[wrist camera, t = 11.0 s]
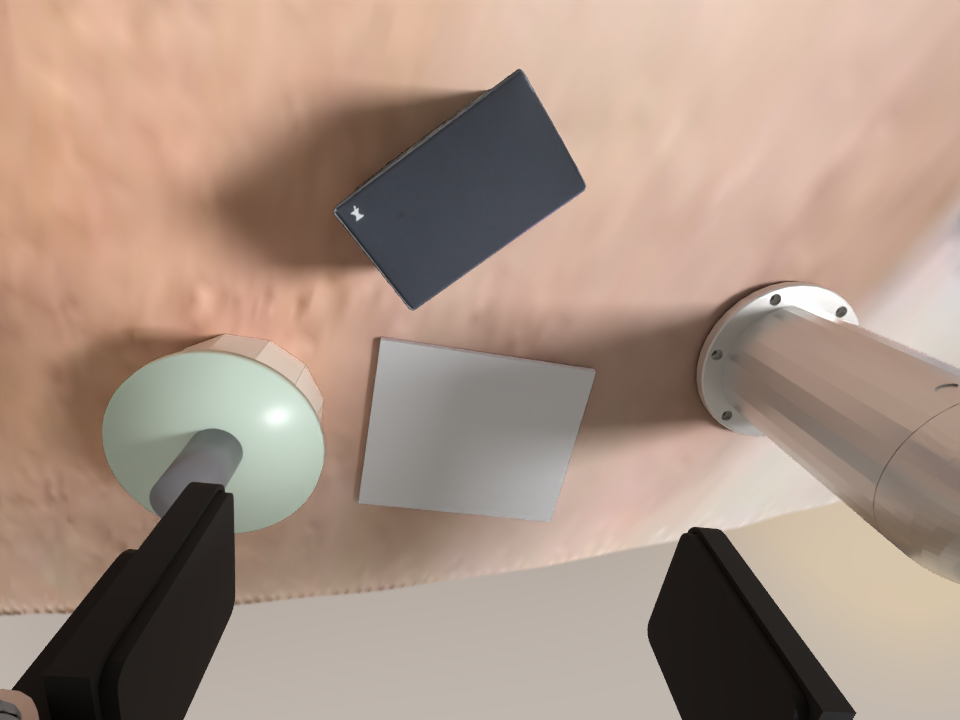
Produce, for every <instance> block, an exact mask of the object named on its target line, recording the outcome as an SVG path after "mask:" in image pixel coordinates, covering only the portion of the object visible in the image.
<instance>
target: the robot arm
mask: <svg viewBox="0 0 960 720" xmlns="http://www.w3.org/2000/svg"><path fill="white" fill-rule="evenodd" d="M696 381H697V387H698V392H699V396H700V398H701V400H702V402H703V405H704V406H705V408H706V409H707V410H708V412H709V413H710V414H711V415H712V416H713V417H714V418H715V419H716V420H717V421H718V422H719V423H720V424H722V425H723V426H725V427H726V428H728V429H729V430H731V431H734V432H737V433H739V434H742V435H748V436H755V437H762V436H767V437H768V438H769V439H770V440H771V441H772V442H774V443H775V444H776V445H777V446H778V447H779V448H781V449H782V450H783V451H784V452H785V453H786V454H788V455H789V456H790V457H791V458H792V459H794V460H795V461H796V462H797V463H798V464H799V465H801V466H802V467H803V468H804V469H805V470H806V471H808V472H809V473H810V474H811V475H812V476H813V477H815V478H816V479H817V480H818V481H819V482H821V483H822V484H823V485H824V486H825V487H826V488H828V489H829V490H830V491H831V492H832V493H833V494H835V495H836V496H837V497H838V498H839V499H840V500H842V501H843V502H844V503H845V504H846V505H848V506H849V507H850V508H851V509H852V510H853V511H855V512H856V513H857V514H858V515H859V516H860V517H862V518H863V519H864V520H865V521H866V522H867V523H869V524H870V525H871V526H872V527H873V528H875V529H876V530H877V531H878V532H879V533H881V534H882V535H883V536H884V537H885V538H886V539H887V540H889V541H890V542H891V543H892V544H894V545H895V546H896V547H897V548H898V549H900V550H901V551H902V552H903V553H904V554H906V555H907V556H908V557H909V558H911V559H912V560H914V561H915V562H916V563H918V564H919V565H921V566H922V567H924V568H926V569H927V570H929V571H931V572H932V573H934V574H937V575H939V576H941V577H943V578H945V579H948V580H950V581H952V582H956V583H958V584H960V368H958V367H956V366H954V365H951V364H949V363H946V362H944V361H942V360H939V359H937V358H934V357H932V356H930V355H927V354H925V353H922V352H920V351H918V350H915V349H913V348H910V347H908V346H906V345H903V344H901V343H898V342H896V341H894V340H891V339H889V338H886V337H884V336H882V335H879V334H877V333H874V332H872V331H870V330H867V329H865V328H862V327H860V325H859V321H858V318H857V316H856V314H855V312H854V310H853V308H852V307H851V305H850V304H849V303H848V302H847V301H846V300H845V299H844V298H843V297H842V296H840V295H839V294H837V293H835V292H834V291H832V290H830V289H827V288H825V287H822V286H819V285H817V284H812V283H807V282H784V283H779V284H774V285H770V286H767V287H765V288H762V289H760V290H757V291H755V292H753V293H752V294H750V295H748V296H747V297H745V298H743V299H741V300H740V301H739V302H737V303H736V304H735V305H734V306H733V307H731V308H730V309H729V310H728V311H727V312H726V313H725V314H724V315H723V316H722V317H721V318H720V320H719V321H718V322H717V323H716V324H715V326H714V327H713V329H712V330H711V332H710V333H709V335H708V337H707V338H706V340H705V343H704V345H703V347H702V350H701V352H700V356H699V360H698V365H697V380H696ZM234 602H235V547H234V496H233V494H232V493H228V492H225V488H224V486H223V485H222V484H213V483H202V482H190V483H189V484H188V485H187V486H186V487H185V489H184V490H183V491H182V493H181V494H180V495H179V497H178V498H177V499H176V501H175V502H174V503H173V504H172V506H171V507H170V508H169V510H168V511H167V512H166V514H165V515H164V516H163V518H162V519H161V520H160V522H159V523H158V524H157V525H156V527H155V528H154V529H153V531H152V532H151V533H150V535H149V536H148V537H147V539H146V540H145V541H144V542H143V544H142V545H141V546H140V548H139V549H138V550H133V549H128V550H126V551H124V552H122V553H121V554H120V555H119V556H118V557H117V558H116V560H115V561H114V562H113V563H112V565H111V566H110V567H109V568H108V570H107V571H106V572H105V573H104V575H103V576H102V577H101V578H100V580H99V581H98V582H97V583H96V585H95V586H94V587H93V588H92V590H91V591H90V592H89V593H88V595H87V596H86V597H85V598H84V600H83V601H82V602H81V603H80V605H79V606H78V607H77V608H76V610H75V611H74V612H73V613H72V615H71V616H70V617H69V619H68V620H67V621H66V622H65V623H64V625H63V626H62V627H61V629H60V630H59V631H58V632H57V633H56V635H55V636H54V637H53V638H52V640H51V641H50V642H49V643H48V645H47V646H46V647H45V648H44V650H43V651H42V652H41V653H40V655H39V656H38V657H37V659H36V660H35V661H34V662H33V663H32V665H31V666H30V667H29V668H28V670H27V671H26V672H25V673H24V675H23V676H22V677H21V678H20V680H19V681H18V682H17V683H16V685H15V686H14V687H13V688H12V690H6V689H0V720H183V719H184V717H185V715H186V713H187V711H188V708H189V706H190V704H191V702H192V700H193V697H194V695H195V693H196V690H197V689H198V686H199V684H200V682H201V680H202V678H203V675H204V673H205V671H206V669H207V667H208V664H209V662H210V660H211V658H212V656H213V653H214V651H215V649H216V647H217V645H218V643H219V640H220V638H221V636H222V634H223V632H224V629H225V627H226V625H227V623H228V621H229V618H230V616H231V613H232V610H233V606H234ZM648 638H649V642H650V644H651V647H652V649H653V652H654V654H655V656H656V659H657V661H658V664H659V666H660V668H661V671H662V673H663V675H664V678H665V680H666V683H667V685H668V687H669V689H670V692H671V694H672V697H673V699H674V702H675V704H676V706H677V709H678V711H679V713H680V716H681V718H682V720H853V718H854V716H855V714H856V712H855V711H854V709H853V708H852V707H851V705H850V704H849V703H848V701H847V700H846V698H845V697H844V696H843V694H842V693H841V692H840V690H839V689H838V687H837V686H836V685H835V683H834V682H833V681H832V679H831V678H830V677H829V675H828V674H827V672H826V671H825V670H824V668H823V667H822V666H821V664H820V663H819V662H818V660H817V659H816V658H815V656H814V655H813V654H812V652H811V651H810V649H809V648H808V647H807V645H806V644H805V643H804V641H803V640H802V639H801V637H800V636H799V634H798V633H797V632H796V630H795V629H794V628H793V626H792V625H791V624H790V622H789V621H788V620H787V618H786V617H785V615H784V614H783V613H782V611H781V610H780V609H779V607H778V606H777V605H776V603H775V602H774V600H773V599H772V598H771V596H770V595H769V594H768V592H767V591H766V589H765V588H764V587H763V585H762V584H761V583H760V581H759V580H758V579H757V577H756V576H755V575H754V573H753V572H752V570H751V569H750V568H749V566H748V565H747V564H746V562H745V561H744V560H743V558H742V557H741V556H740V554H739V553H738V551H737V550H736V549H735V547H734V546H733V545H732V543H731V542H730V541H729V539H728V538H727V536H726V535H725V534H724V533H723V532H722V531H721V530H719V529H711V528H700V527H692V528H691V529H690V530H689V531H688V533H684V534H683V535H682V536H681V537H680V540H679V542H678V545H677V548H676V550H675V553H674V556H673V558H672V561H671V564H670V567H669V569H668V572H667V575H666V577H665V580H664V583H663V585H662V588H661V591H660V594H659V596H658V599H657V601H656V604H655V607H654V609H653V612H652V615H651V617H650V620H649V623H648Z"/></svg>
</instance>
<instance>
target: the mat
mask: <svg viewBox="0 0 960 720" xmlns="http://www.w3.org/2000/svg"><path fill="white" fill-rule="evenodd" d="M595 375H596V371H595V370H594V369H591V368H584V367H578V366H571V365H565V364H558V363H551V362H545V361H538V360H532V359H525V358H518V357H512V356H505V355H498V354H492V353H485V352H479V351H472V350H465V349H459V348H452V347H445V346H439V345H432V344H426V343H419V342H412V341H406V340H399V339H393V338H386V337H381V342H380V349H379V356H378V363H377V371H376V378H375V385H374V393H373V400H372V407H371V414H370V422H369V429H368V436H367V443H366V451H365V458H364V465H363V473H362V480H361V487H360V494H359V502H358V503H360V504H370V505H380V506H390V507H400V508H411V509H421V510H431V511H441V512H451V513H462V514H472V515H482V516H492V517H503V518H513V519H523V520H533V521H543V522H551V519H552V516H553V512H554V509H555V506H556V503H557V499H558V496H559V493H560V490H561V486H562V483H563V480H564V476H565V473H566V470H567V467H568V463H569V460H570V457H571V453H572V450H573V447H574V444H575V440H576V437H577V434H578V430H579V427H580V424H581V421H582V417H583V414H584V411H585V408H586V404H587V401H588V398H589V394H590V391H591V388H592V385H593V381H594V378H595Z"/></svg>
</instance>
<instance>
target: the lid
mask: <svg viewBox="0 0 960 720" xmlns="http://www.w3.org/2000/svg"><path fill="white" fill-rule="evenodd" d="M102 441H103V448H104V452H105V455H106V458H107V462H108V464H109V466H110V468H111V470H112V472H113V474H114V475H115V477H116V478H117V480H118V481H119V483H120V484H121V486H122V487H123V488H124V489H125V490H126V491H127V492H128V494H129V495H130V496H131V497H133V498H134V499H135V500H136V501H137V502H138V503H139V504H141V505H142V506H143V507H145V508H146V509H147V510H149V511H150V512H152V513H154V514H155V515H157V516H159V517H161V518H163V516H164V515H165V514H166V512H167V511H168V510H169V508H170V507H171V506H172V504H173V503H174V502H175V501H176V499H177V498H178V497H179V495H180V494H181V493H182V491H183V490H184V489H185V487H186V486H187V485H188V484H189V483H190V482H202V483H213V484H222V485H223V486H224V488H225V492H228V493H232V494H233V496H234V534H235V533H245V532H251V531H255V530H259V529H262V528H266V527H268V526H271V525H273V524H276V523H278V522H280V521H281V520H283V519H285V518H287V517H288V516H290V515H291V514H292V513H294V512H295V511H296V510H298V509H299V508H300V507H301V506H302V505H303V504H304V503H305V502H306V500H307V499H308V498H309V496H310V495H311V494H312V492H313V490H314V488H315V487H316V485H317V482H318V480H319V477H320V474H321V471H322V468H323V463H324V458H325V440H324V433H323V429H322V426H321V422H320V420H319V418H318V415H317V413H316V411H315V409H314V408H313V406H312V405H311V403H310V401H309V400H308V399H307V397H306V396H305V395H304V394H303V393H302V391H301V390H300V389H299V388H298V387H297V386H296V385H295V384H294V383H293V382H292V381H290V380H289V379H288V378H287V377H285V376H284V375H283V374H281V373H280V372H278V371H277V370H275V369H273V368H272V367H270V366H268V365H266V364H264V363H262V362H260V361H258V360H255V359H253V358H250V357H247V356H244V355H241V354H238V353H233V352H227V351H222V350H210V349H200V350H188V351H181V352H176V353H173V354H169V355H166V356H163V357H160V358H158V359H156V360H154V361H151V362H150V363H148V364H147V365H145V366H143V367H142V368H140V369H139V370H138V371H136V372H135V373H134V374H132V375H131V376H130V377H129V378H128V379H127V380H125V381H124V382H123V383H122V384H121V386H120V387H119V388H118V389H117V390H116V392H115V393H114V395H113V396H112V398H111V400H110V401H109V403H108V406H107V409H106V411H105V414H104V419H103V424H102Z"/></svg>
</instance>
